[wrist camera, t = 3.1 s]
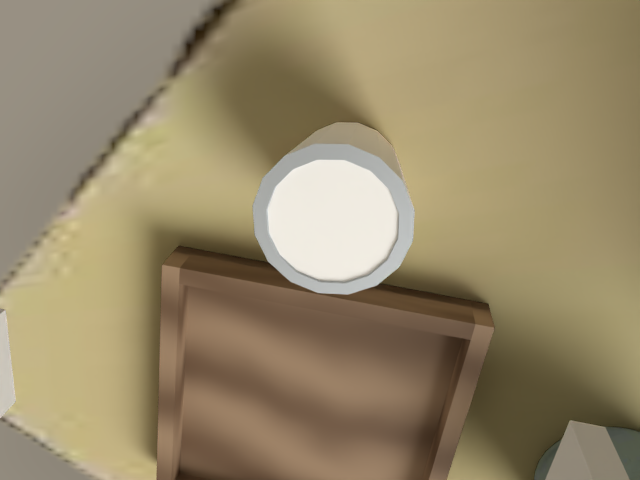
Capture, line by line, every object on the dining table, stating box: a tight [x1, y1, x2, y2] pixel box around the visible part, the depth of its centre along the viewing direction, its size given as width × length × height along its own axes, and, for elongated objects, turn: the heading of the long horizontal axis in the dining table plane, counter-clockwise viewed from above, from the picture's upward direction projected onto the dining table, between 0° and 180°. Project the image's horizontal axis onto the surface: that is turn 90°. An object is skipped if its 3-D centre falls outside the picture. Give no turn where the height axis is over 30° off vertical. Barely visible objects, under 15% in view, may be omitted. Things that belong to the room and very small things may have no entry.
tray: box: [157, 246, 495, 480], centre depth 35 cm, size 18×18×2 cm
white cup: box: [253, 122, 415, 295], centre depth 27 cm, size 7×7×7 cm
